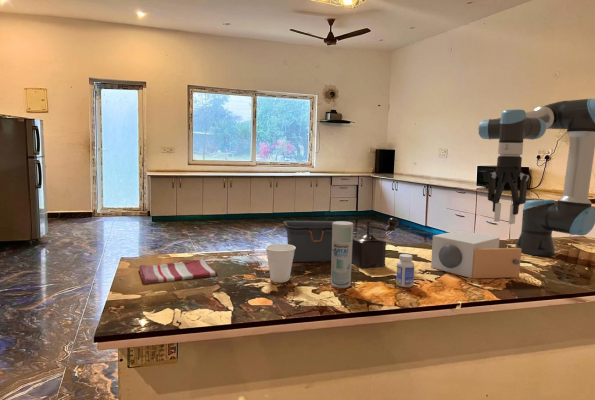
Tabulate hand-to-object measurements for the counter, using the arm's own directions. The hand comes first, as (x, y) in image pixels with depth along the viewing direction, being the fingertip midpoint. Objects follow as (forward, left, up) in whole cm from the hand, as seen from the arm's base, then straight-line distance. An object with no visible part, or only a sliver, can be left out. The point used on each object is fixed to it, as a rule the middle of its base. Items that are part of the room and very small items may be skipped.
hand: (504, 222), depth 149 cm
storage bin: (+43, -52, -19) cm, 70 cm away
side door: (+7, +2, -18) cm, 20 cm away
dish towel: (+92, -66, -19) cm, 115 cm away
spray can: (+55, -24, -19) cm, 63 cm away
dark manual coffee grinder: (+27, -36, -19) cm, 48 cm away
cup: (+68, -40, -19) cm, 81 cm away
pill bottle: (+38, -12, -19) cm, 44 cm away
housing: (+4, -12, -19) cm, 22 cm away
